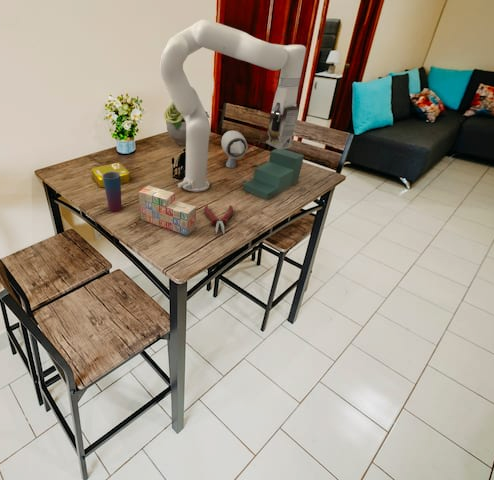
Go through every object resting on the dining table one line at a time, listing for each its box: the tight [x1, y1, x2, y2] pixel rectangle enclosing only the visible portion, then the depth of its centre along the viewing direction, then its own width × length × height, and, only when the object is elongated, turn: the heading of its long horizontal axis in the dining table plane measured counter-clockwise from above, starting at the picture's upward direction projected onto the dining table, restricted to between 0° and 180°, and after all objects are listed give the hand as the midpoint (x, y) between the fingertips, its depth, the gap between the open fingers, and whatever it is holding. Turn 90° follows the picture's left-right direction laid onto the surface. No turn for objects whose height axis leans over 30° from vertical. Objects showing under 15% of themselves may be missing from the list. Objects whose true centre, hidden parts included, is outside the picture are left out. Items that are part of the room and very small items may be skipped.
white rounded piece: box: [220, 130, 249, 169], centre depth 165 cm, size 15×20×18 cm
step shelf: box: [241, 148, 305, 201], centre depth 150 cm, size 25×13×13 cm, turn 132°
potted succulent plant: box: [163, 101, 211, 146], centre depth 193 cm, size 25×25×24 cm
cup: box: [103, 171, 123, 213], centre depth 134 cm, size 7×7×15 cm
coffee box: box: [265, 103, 300, 150], centre depth 137 cm, size 9×6×16 cm
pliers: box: [203, 204, 234, 236], centre depth 128 cm, size 12×20×3 cm, turn 175°
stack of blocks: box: [138, 185, 197, 236], centre depth 125 cm, size 21×6×12 cm, turn 56°
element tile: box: [91, 162, 131, 188], centre depth 160 cm, size 15×15×5 cm
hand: (280, 128), depth 138 cm, fingers closed on coffee box, 7 cm apart
